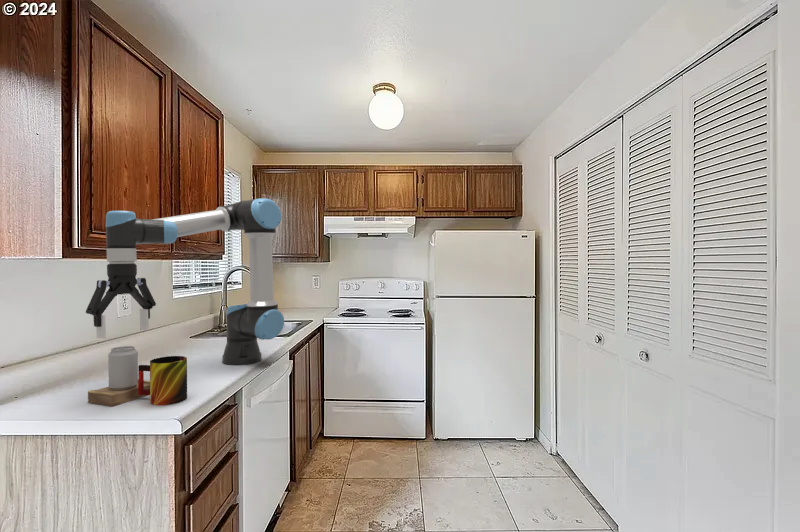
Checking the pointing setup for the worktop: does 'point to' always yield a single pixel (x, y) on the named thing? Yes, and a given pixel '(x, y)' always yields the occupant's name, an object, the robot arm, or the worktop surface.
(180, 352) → the worktop surface
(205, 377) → the worktop surface
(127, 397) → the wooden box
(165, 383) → the mug
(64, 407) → the worktop surface
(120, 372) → the can
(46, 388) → the worktop surface
